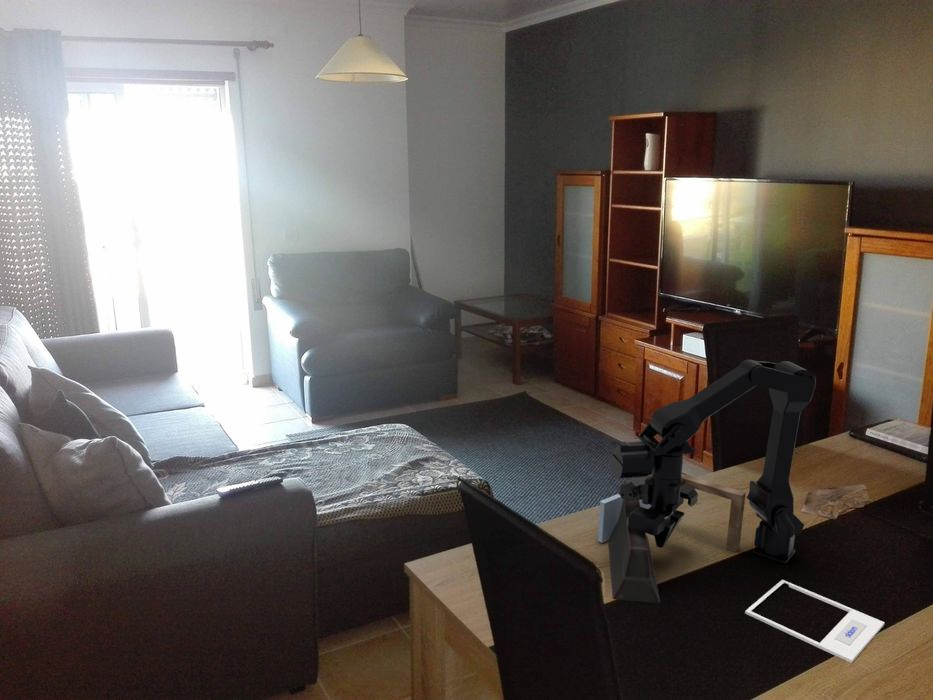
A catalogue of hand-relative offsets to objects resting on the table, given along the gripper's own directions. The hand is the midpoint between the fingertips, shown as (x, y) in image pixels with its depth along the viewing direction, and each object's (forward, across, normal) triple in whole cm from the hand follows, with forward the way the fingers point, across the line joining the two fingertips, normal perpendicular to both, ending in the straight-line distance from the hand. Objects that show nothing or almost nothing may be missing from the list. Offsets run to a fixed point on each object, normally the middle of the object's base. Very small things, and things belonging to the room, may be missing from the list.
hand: (660, 546), depth 147 cm
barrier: (+4, +5, -4) cm, 7 cm away
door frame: (+4, -15, -1) cm, 15 cm away
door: (+3, -7, -12) cm, 14 cm away
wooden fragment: (+4, -53, +19) cm, 56 cm away
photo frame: (+4, -1, +29) cm, 29 cm away
